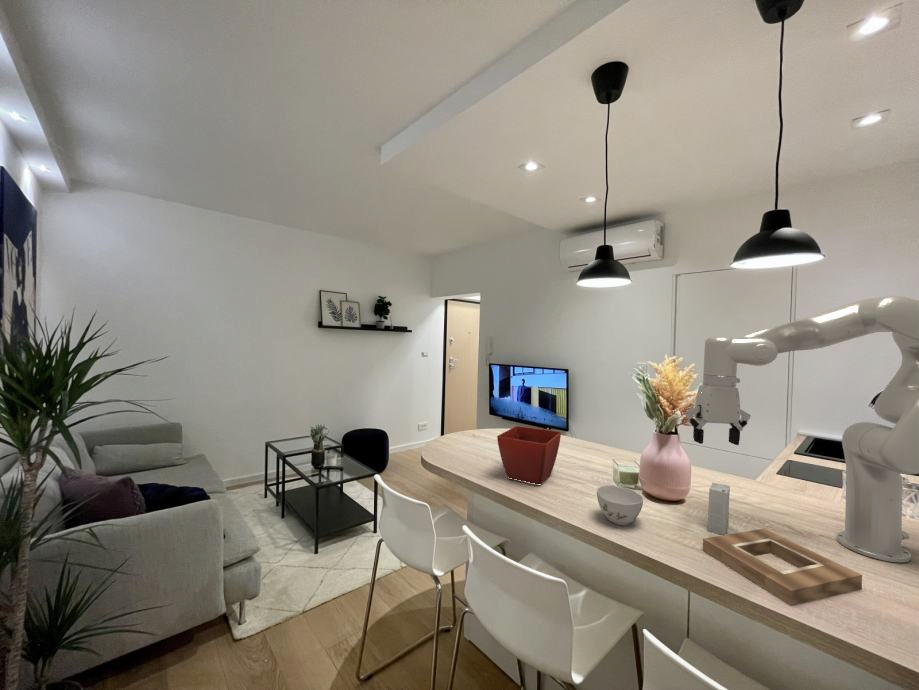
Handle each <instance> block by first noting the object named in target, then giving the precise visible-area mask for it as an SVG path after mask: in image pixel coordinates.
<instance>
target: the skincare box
mask: <svg viewBox="0 0 919 690" xmlns="http://www.w3.org/2000/svg"><path fill="white" fill-rule="evenodd" d="M730 488H731V486H730V485H726V484H722V483H718V482H717V483H716V482H712V483H711V485H710V487H709V489H708V491H709V492H708V493H709V494H708V509H707V511H708V512H707V513H708V514H707V531H708V532H710V533H713V534H717V535H719V536H721V535H727V533H728V530H729V522H730V521H729V519H730V496H731V495H730V493H731V491H730V490H731V489H730Z"/></svg>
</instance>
